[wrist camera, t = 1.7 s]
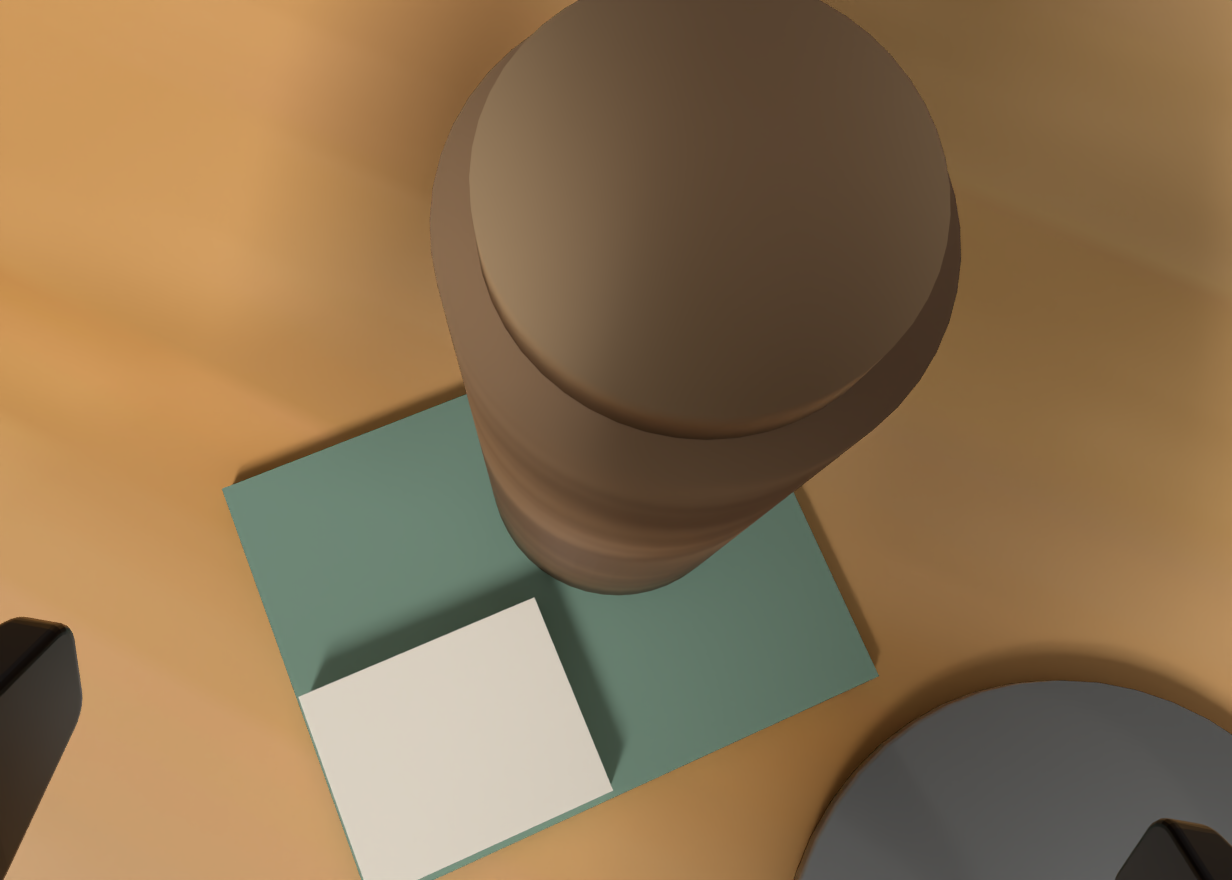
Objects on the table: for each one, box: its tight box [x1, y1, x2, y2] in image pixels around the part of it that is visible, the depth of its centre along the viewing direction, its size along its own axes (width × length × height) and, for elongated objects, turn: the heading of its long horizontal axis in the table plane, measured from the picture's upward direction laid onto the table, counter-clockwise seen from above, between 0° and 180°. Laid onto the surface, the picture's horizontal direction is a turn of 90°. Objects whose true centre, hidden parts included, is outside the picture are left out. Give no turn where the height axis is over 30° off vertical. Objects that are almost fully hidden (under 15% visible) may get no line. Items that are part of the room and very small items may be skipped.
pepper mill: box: [430, 0, 961, 595], centre depth 15 cm, size 5×5×12 cm
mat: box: [222, 394, 879, 880], centre depth 20 cm, size 10×8×1 cm
